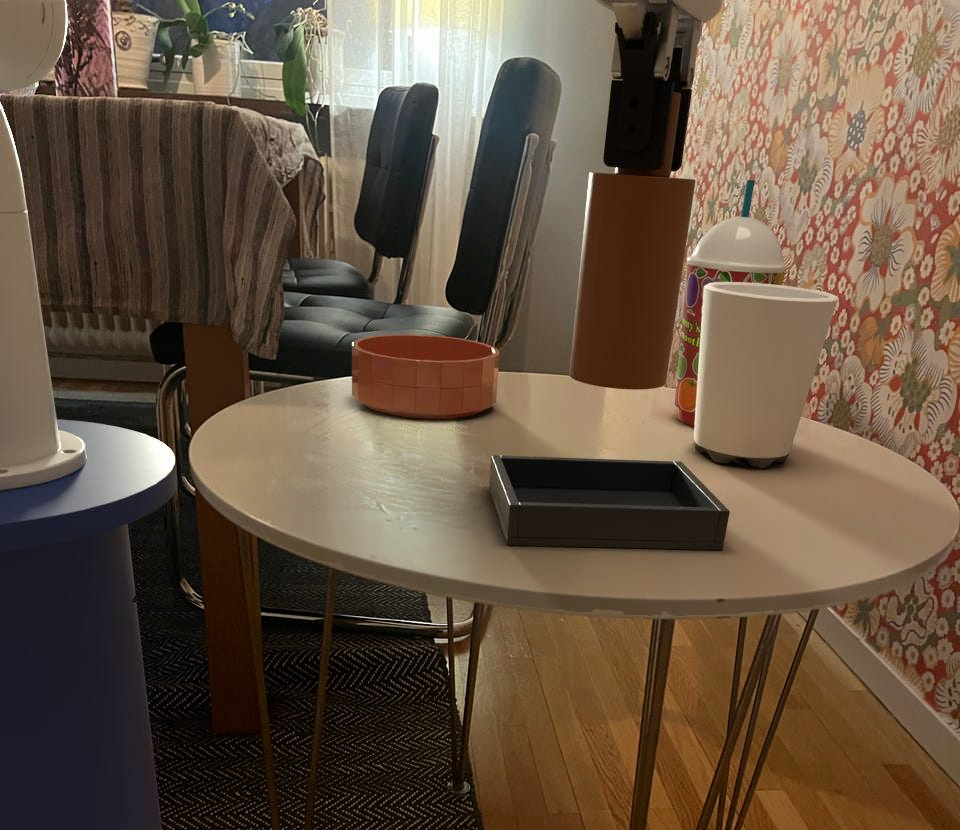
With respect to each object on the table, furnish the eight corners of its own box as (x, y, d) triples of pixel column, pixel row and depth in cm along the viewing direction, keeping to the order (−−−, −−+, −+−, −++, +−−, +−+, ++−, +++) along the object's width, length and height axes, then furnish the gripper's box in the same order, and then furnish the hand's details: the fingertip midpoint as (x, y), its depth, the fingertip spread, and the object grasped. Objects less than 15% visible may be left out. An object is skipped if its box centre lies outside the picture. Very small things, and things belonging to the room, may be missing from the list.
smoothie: (644, 417, 87) (678, 175, 78) (701, 407, 92) (738, 179, 83) (718, 439, 81) (764, 181, 72) (774, 427, 86) (823, 185, 77)
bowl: (350, 418, 80) (350, 357, 78) (353, 385, 91) (353, 331, 89) (502, 424, 81) (507, 364, 79) (487, 390, 93) (490, 338, 91)
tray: (506, 545, 56) (509, 504, 55) (488, 490, 65) (491, 454, 64) (722, 550, 57) (730, 511, 56) (676, 496, 66) (681, 461, 65)
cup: (654, 451, 76) (678, 284, 71) (717, 433, 83) (744, 279, 77) (765, 482, 71) (801, 302, 65) (823, 460, 77) (861, 295, 71)
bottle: (578, 387, 54) (611, 84, 47) (561, 367, 59) (588, 91, 52) (677, 391, 55) (723, 93, 48) (651, 371, 60) (689, 98, 53)
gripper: (663, -208, 52) (620, 168, 60) (559, -350, 38) (522, 160, 46) (804, -219, 49) (739, 176, 57) (746, -375, 36) (672, 170, 44)
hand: (642, 165), depth 52 cm, fingers closed on bottle, 3 cm apart
